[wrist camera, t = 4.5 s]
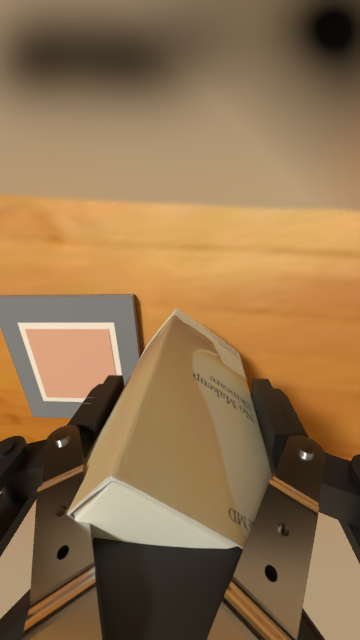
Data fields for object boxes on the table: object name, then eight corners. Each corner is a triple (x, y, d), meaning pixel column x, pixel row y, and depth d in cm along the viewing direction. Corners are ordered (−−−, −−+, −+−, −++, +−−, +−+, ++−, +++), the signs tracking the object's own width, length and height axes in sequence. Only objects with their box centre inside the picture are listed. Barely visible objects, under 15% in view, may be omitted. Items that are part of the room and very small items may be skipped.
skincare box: (241, 352, 17) (323, 598, 6) (205, 387, 18) (213, 637, 7) (173, 303, 16) (105, 481, 5) (141, 344, 17) (31, 555, 6)
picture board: (134, 294, 20) (131, 297, 19) (147, 414, 25) (145, 421, 24) (-3, 295, 20) (-12, 298, 20) (37, 411, 26) (32, 417, 25)
